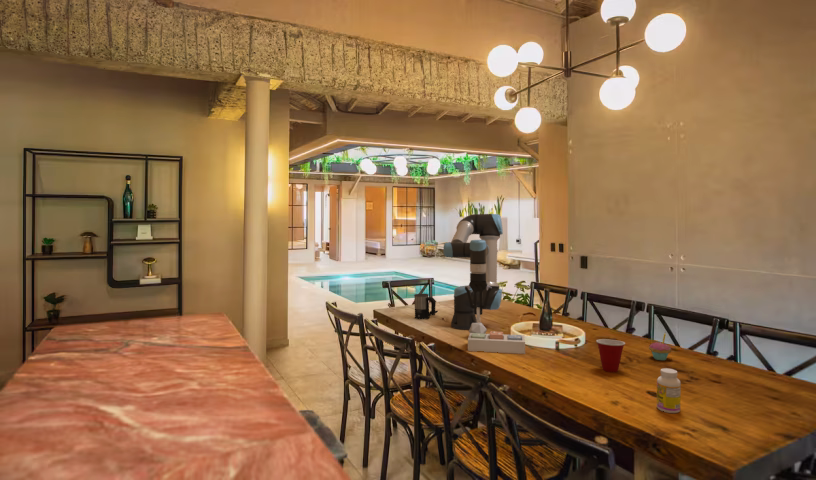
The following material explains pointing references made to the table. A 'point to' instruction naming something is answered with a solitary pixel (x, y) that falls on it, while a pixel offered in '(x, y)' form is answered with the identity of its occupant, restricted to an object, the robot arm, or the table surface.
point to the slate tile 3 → (514, 337)
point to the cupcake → (660, 349)
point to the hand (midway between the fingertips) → (478, 321)
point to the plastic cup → (610, 354)
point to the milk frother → (424, 306)
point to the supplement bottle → (668, 391)
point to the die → (477, 328)
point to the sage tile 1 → (478, 335)
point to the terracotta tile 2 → (496, 335)
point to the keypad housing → (496, 344)
